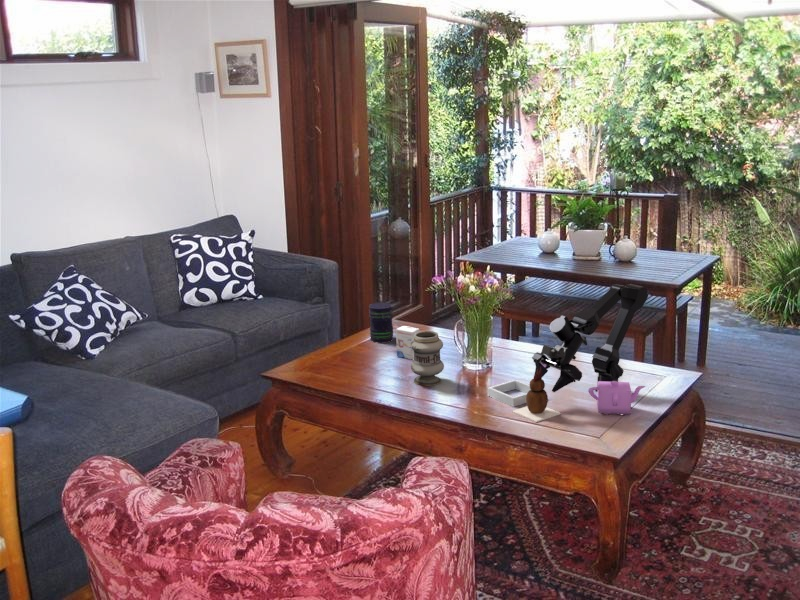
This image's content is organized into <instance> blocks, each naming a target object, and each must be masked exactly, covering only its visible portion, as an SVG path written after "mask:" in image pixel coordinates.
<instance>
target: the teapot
mask: <svg viewBox="0 0 800 600" xmlns="http://www.w3.org/2000/svg"><path fill="white" fill-rule="evenodd" d="M597 381H598V380H597ZM644 388H646V386H645V385H638V386H637V387H635V389H634V392H633V393H632V390H631V389H632V388H631V386H630V382H629V381H618V382H617V381H611V382H606V381H598V387H597V386H593V387H589V388H588V390H587V391H588V394H589V395H590V396H591V397H592V398H593V399H595V400H596V405H597V409H598V410H597V413H598V414H603V415H610V414H615V415H616V414H617V415H619V414H624V415H631V411H632V409H631V408H632V404H633V403H634V402H636V400H637V398H638V395H639V392H640V391H641V390H642V389H644ZM595 390H598V391H596V392H597V395H596V394H595V392H594V391H595Z"/></svg>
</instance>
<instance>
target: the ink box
mask: <svg viewBox="0 0 800 600" xmlns="http://www.w3.org/2000/svg"><path fill="white" fill-rule="evenodd" d="M418 332H421V331H420V328H418V327H417V328H416V327H412V326H407V325H402V326H400V327H397V328H395V335H396V336H395V337H396V357H397V356H398V358H401V357H404V358H403V359H406V358H409V359H408V360H411V359H414V350H412V348H411V346H410V344H411V341H412V340H413V339H414V337H415V334H416V333H418Z"/></svg>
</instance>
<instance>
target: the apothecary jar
mask: <svg viewBox="0 0 800 600" xmlns="http://www.w3.org/2000/svg"><path fill="white" fill-rule="evenodd" d="M410 346H411V348H412V350H414V360H413V361H412V362H411V364H410V369H411V371H412V373H414V374H415V375H418V376H417V377H415V378H414V379H413V383H414V384H416V385H419V386H420V385H421V386H425V387H429V386H437V385H439V384H441V382H442V379H441V378H440V377H439V376H437V375H439V374H440V373H442V372H443V370H444V368H445V364H444V362H443V361H442V360H441V350H442V348H443V347H444V343H443V340H442V339H440V337H439V333H438V332H436V331H434V330H433V331H432V330H423V331H420V332H418V333H416V334H415V337H414V339H413V340H412V341H411V344H410ZM436 384H437V385H436Z"/></svg>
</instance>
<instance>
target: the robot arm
mask: <svg viewBox="0 0 800 600" xmlns="http://www.w3.org/2000/svg"><path fill="white" fill-rule="evenodd" d="M648 297H649V292H648V289H647V288H646V287H644V286H641V285H637V284H632V283H627V284H625V285H622V284H617V283H614V284H612V285H611V286H610V288H609V289H608V290H607V291H606V292H605V294H603V295H602V296H601V297H600V298H599V299H598V300H597V301H596V302H595V303H594V304H593V305H592V306H591V307H590V308H588V309H586V310H582V311H580V312H579V313H578V314H576V315H575V316H574V317H573V318H571V319H569V318H568V317H567V316H565V315H563V314H561V315H560V317H557V318H555V319H554V320H553V321H551V322H550V324H549V330H550V332H551V333H552V334H553V335H554V336H555V337H556V338H557V339H558V340H559V341H560V342H561V343H560V344H556V345H555V347H554V346H553V347H552V346H550V345H548V344H543V346H542V349H541V352H534V354H533V355H532V357H531V359H532V361H533V363H534V364H535V365H534V366H535V370H534V375H533V377H534V376H535V374H536V373H537V370H538V369H539V371H540V367H541V369H542V378H543V377H544V376H545V375H546V374H547V373H548V371H549V370H548V369H550V368H554V369H556V370H558V371H560V374H559V377H558V378H557V381H556V382H555V384H554V385H553V387H552V390H551V392H552V393H556V392H557V391H560V390H562V389H563V388H564V387H566V386H568V385H570V384H572V383H576V382H580V381H581V379H582V378H583V372H582V371H581V370H580V369H579V368H578V367H577V366H576V365H574V364H572V363H571V362H572V360H574V361H575V360H576V359H577V357H576V354H577V353H578V350H579V349H580V347H581V346H582V345H583V346H587V345H588V341H587V337H586V336H591V335H592V334H594V333H595V331H596V330H597V329H598V327H599V326H600V322H601V320H602V318H603V317H604V316H605V315H606V314H607V313H609V312H610V310H612V308H613V307H614V306H616V304H618V303H619V302H620V306H621V307H620V309H619V312H618V314H617V316H616V318H615V320H614V323H613V325H612V326H611V327H612V328H611V330H610V332H609V334H608V336H607V339H606V341H605V343H604V344H603V345H602V346H601V347H599V346H597V347H596V348H595V351H594V353H593V355H592V357H591V358H592V360H591V364H592V368H593V370H594V373H596V374H597V375H598V376H597V382H596V383H597V386H596V387H598V381H606V382H611V381H617V382H619V379H620V377H623V374H624V369H623V368H622V366H620V365H619V362H620V352H619V351H620V348H621V347H622V346H621V345H622V344H623V341H624V339H625V337H626V334H627V332H628V330H629V327H630V325H631V323H632V321H633V318H634V316H635V314H636V313H637V311H639V310H640V309H641V308H643V306H644V304H645V303H646V301H647V300H648ZM582 334H583V335H582ZM584 335H586V336H584ZM594 391H596V392H597V391H598V390H594Z"/></svg>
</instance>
